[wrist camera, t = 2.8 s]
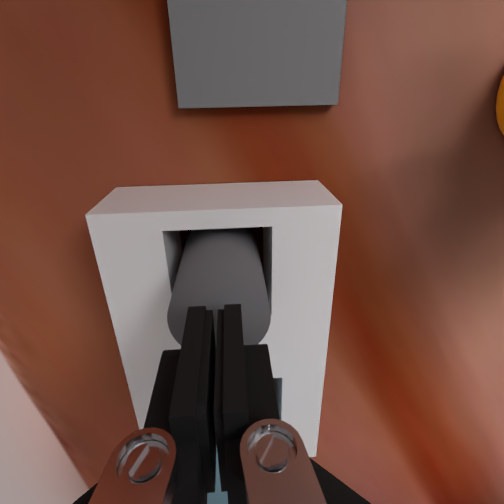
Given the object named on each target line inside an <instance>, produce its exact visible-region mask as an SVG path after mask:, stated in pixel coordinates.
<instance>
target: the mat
mask: <svg viewBox="0 0 504 504" xmlns="http://www.w3.org/2000/svg"><path fill="white" fill-rule="evenodd" d="M167 4H168V13H169V23H170V32H171V42H172V51H173V60H174V70H175V79H176V89H177V98H178V108H217V107H260V106H303V105H338V97H339V85H340V74H341V63H342V51H343V40H344V28H345V17H346V5H347V0H167Z"/></svg>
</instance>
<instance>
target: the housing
mask: <svg viewBox="0 0 504 504" xmlns="http://www.w3.org/2000/svg"><path fill="white" fill-rule="evenodd" d="M341 215H342V204H341V203H340V202H339V201H338V200H337V199H336V198H335V197H334V196H333V195H332V194H331V193H330V192H329V191H328V190H327V189H326V188H325V187H324V186H323V185H322V184H321V183H320V182H319V181H318V180H306V181H277V182H249V183H221V184H192V185H164V186H135V187H116V188H115V189H114V190H113V191H111V192H110V193H109V194H108V195H107V196H106V197H105V198H104V199H102V200H101V201H100V202H99V203H98V204H97V205H96V206H95V207H93V208H92V209H91V210H90V211H89V212H88V213H87V214H85V216H86V220H87V224H88V228H89V232H90V236H91V240H92V244H93V248H94V252H95V256H96V260H97V264H98V268H99V272H100V276H101V280H102V284H103V288H104V292H105V296H106V299H107V303H108V307H109V311H110V315H111V319H112V323H113V327H114V331H115V335H116V339H117V343H118V347H119V351H120V355H121V359H122V363H123V367H124V371H125V375H126V379H127V382H128V386H129V390H130V394H131V398H132V402H133V406H134V410H135V414H136V418H137V422H138V426H139V430H140V429H143V428H144V424H145V420H146V416H147V412H148V408H149V404H150V399H151V395H152V391H153V387H154V383H155V379H156V375H157V371H158V367H159V363H160V359H161V355H162V352H163V351H164V350H174V349H181V345H180V344H179V343H178V342H177V341H176V340H175V339H174V337H173V336H172V334H171V332H170V330H169V327H168V323H167V311H168V307H169V304H170V300H171V296H172V292H173V289H174V285H175V281H176V277H177V274H178V270H179V266H180V263H181V259H182V255H183V254H182V245H181V237H180V230H200V229H223V228H247V227H263V275H264V280H265V286H266V291H267V296H268V301H269V306H270V311H271V322H270V326H269V329H268V331H267V333H266V335H265V337H264V338H263V339H262V341H261V342H260V343H259V344H267V345H268V349H269V356H270V362H271V368H272V374H273V380H274V386H275V392H276V399H277V405H278V411H279V417H280V420H282V421H284V422H286V423H288V424H290V425H291V426H292V427H293V428H295V429H296V430H297V431H298V433H299V435H300V436H301V438H302V440H303V443H304V445H305V448H306V450H307V453H308V456H309V457H316V451H317V441H318V432H319V422H320V413H321V403H322V394H323V385H324V375H325V366H326V356H327V347H328V337H329V328H330V319H331V309H332V300H333V290H334V281H335V271H336V262H337V252H338V243H339V234H340V224H341Z"/></svg>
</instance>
